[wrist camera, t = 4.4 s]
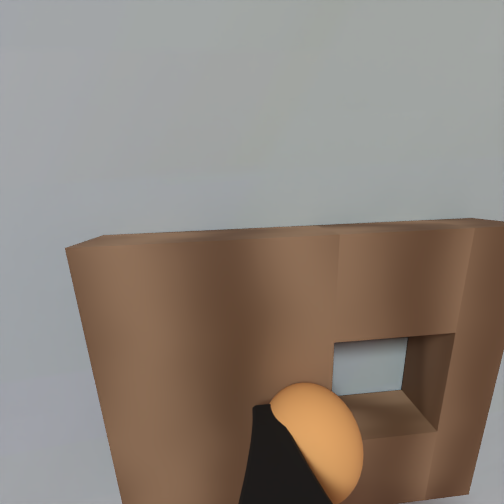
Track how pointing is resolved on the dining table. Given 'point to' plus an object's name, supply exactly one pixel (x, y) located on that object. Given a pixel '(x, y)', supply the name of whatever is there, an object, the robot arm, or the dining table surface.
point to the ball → (323, 435)
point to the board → (291, 347)
